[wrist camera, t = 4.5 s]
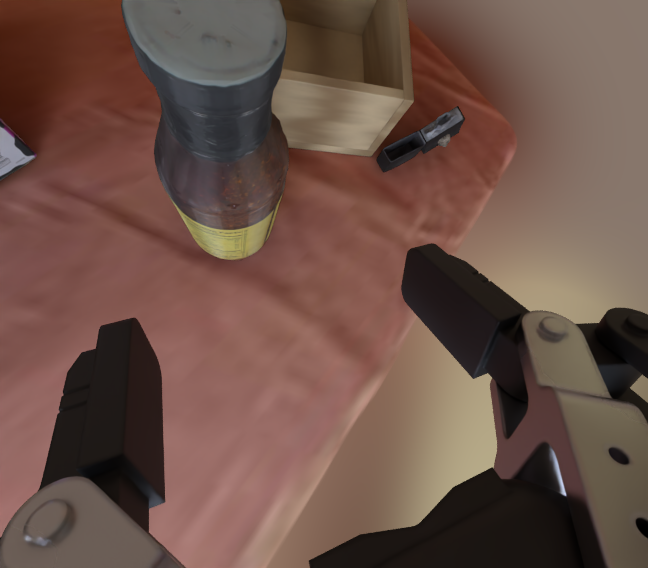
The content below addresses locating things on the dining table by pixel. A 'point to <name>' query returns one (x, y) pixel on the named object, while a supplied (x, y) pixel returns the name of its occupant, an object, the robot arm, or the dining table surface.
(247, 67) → the sauce bottle
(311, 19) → the caddy
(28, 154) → the candy bar box
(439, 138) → the lighter
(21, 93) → the dining table surface
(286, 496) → the dining table surface
